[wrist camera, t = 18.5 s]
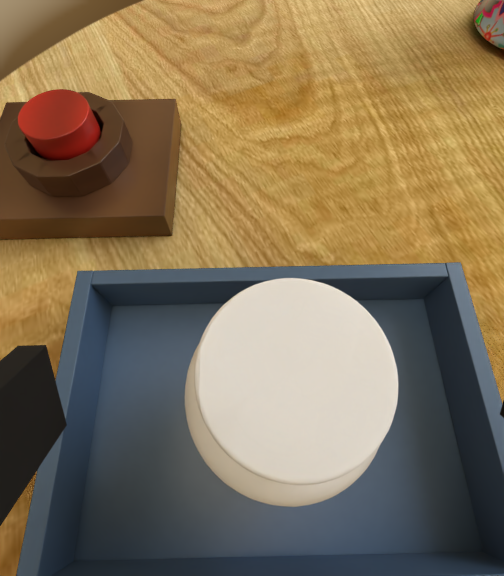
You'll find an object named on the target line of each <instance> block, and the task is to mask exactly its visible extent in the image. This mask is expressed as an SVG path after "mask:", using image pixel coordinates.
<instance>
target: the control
mask: <svg viewBox="0 0 504 576" xmlns="http://www.w3.org/2000/svg"><path fill="white" fill-rule="evenodd" d="M77 93H79V94H81V95H82V96H83V97H84V98H85V99H86V100H87V102H88V104H89V106H90V108H91V110H92V112H93V114H94V116H95V118H96V120H97V122H98V124H99V126H100V138H99V141H98V142H97V143H96V144H95V145H94V146H93V147H92V148H91V149H90V150H89V151H88V152H86V153H84V154H81V155H79V156H76V157H74V158H72V159H69V160H54V161H51V160H48V159H46V158H44V157H42V156H41V155H39V154H38V152H37V151H36V150H35V148H34V147H33V146H32V144H31V143H30V142H29V140H28V139H27V138H26V136H25V135H24V134H23V132H22V131H21V129H20V128H19V125H18V115H19V112H20V110H21V109H22V107H23V106H24V105H25V104H26V103H27V102H10V103H6V105H5V108H4V110H3V113H2V116H1V118H0V239H32V238H77V237H123V236H168V235H172V230H173V218H174V206H175V194H176V182H177V170H178V158H179V146H180V134H181V120H180V116H179V112H178V107H177V103H176V99H147V100H107V99H104V98H102V97H99V96H97V95H95V94H92V93H89V92H77Z"/></svg>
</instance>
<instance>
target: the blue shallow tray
mask: <svg viewBox="0 0 504 576" xmlns="http://www.w3.org/2000/svg"><path fill="white" fill-rule="evenodd" d="M282 278H300V279H308V280H313V281H317V282H321V283H324V284H327V285H329V286H332V287H334V288H336V289H338V290H340V291H342V292H344V293H345V294H347V295H349V296H350V297H352V298H353V299H354V300H356V301H357V302H358V303H359V304H360V305H362V306H363V307H364V308H365V309H366V310H367V311H368V312H369V313H370V314H371V316H372V317H373V318H374V319H375V320H376V322H377V323H378V324H379V326H380V327H381V329H382V330H383V332H384V334H385V336H386V338H387V340H388V342H389V344H390V346H391V349H392V352H393V355H394V359H395V363H396V367H397V373H398V400H397V407H396V410H395V414H394V418H393V421H392V423H391V426H390V429H389V431H388V432H387V434H386V436H385V438H384V439H383V441H382V443H381V444H380V446H379V448H378V451H377V453H376V455H375V457H374V459H373V460H372V462H371V463H370V465H369V466H368V468H367V469H366V470H365V471H364V473H363V474H362V475H361V476H360V477H359V478H358V479H357V480H356V481H355V482H354V483H353V484H351V485H350V486H349V487H348V488H346V489H345V490H344V491H342V492H340V493H339V494H337V495H335V496H333V497H331V498H329V499H326V500H324V501H321V502H318V503H314V504H311V505H305V506H298V507H288V506H277V505H270V504H266V503H262V502H259V501H256V500H253V499H251V498H248V497H246V496H244V495H242V494H241V493H239V492H237V491H235V490H234V489H233V488H231V487H230V486H228V485H227V484H225V483H224V482H223V481H222V480H221V479H220V478H219V477H218V476H217V475H216V474H215V473H214V472H213V471H212V470H211V469H210V467H209V466H208V465H207V464H206V463H205V461H204V459H203V458H202V456H201V455H200V453H199V451H198V449H197V447H196V446H195V443H194V441H193V439H192V436H191V433H190V430H189V427H188V423H187V418H186V410H185V385H186V378H187V373H188V369H189V365H190V362H191V359H192V357H193V355H194V352H195V350H196V348H197V346H198V345H199V343H200V340H201V338H202V335H203V333H204V331H205V329H206V327H207V326H208V324H209V322H210V321H211V319H212V318H213V316H214V315H215V314H216V313H217V311H218V310H219V309H220V308H221V307H222V306H223V305H224V304H225V303H226V302H227V301H229V300H230V299H231V298H232V297H233V296H235V295H236V294H238V293H239V292H241V291H243V290H245V289H247V288H249V287H251V286H253V285H255V284H259V283H262V282H265V281H269V280H274V279H282ZM56 385H57V389H58V393H59V397H60V400H61V404H62V408H63V412H64V416H65V419H66V423H67V426H66V427H65V429H64V430H63V432H62V433H61V435H60V436H59V438H58V439H57V441H56V442H55V444H54V445H53V447H52V448H51V450H50V451H49V453H48V454H47V456H46V457H45V459H44V460H43V462H42V463H41V465H40V467H39V468H38V470H37V475H36V480H35V485H34V490H33V495H32V500H31V505H30V510H29V515H28V520H27V525H26V530H25V535H24V540H23V544H22V549H21V554H20V559H19V564H18V569H17V574H16V576H504V418H503V417H502V416H501V415H500V412H501V408H502V401H501V398H500V394H499V391H498V388H497V384H496V381H495V377H494V374H493V371H492V367H491V364H490V360H489V357H488V354H487V350H486V347H485V343H484V340H483V337H482V333H481V330H480V327H479V323H478V320H477V316H476V313H475V310H474V306H473V303H472V299H471V296H470V293H469V289H468V286H467V282H466V279H465V276H464V272H463V269H462V265H461V263H425V264H380V265H334V266H289V267H244V268H198V269H153V270H108V271H78V272H77V277H76V282H75V287H74V292H73V297H72V301H71V306H70V311H69V316H68V321H67V326H66V331H65V336H64V341H63V346H62V351H61V356H60V361H59V366H58V371H57V376H56Z"/></svg>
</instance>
